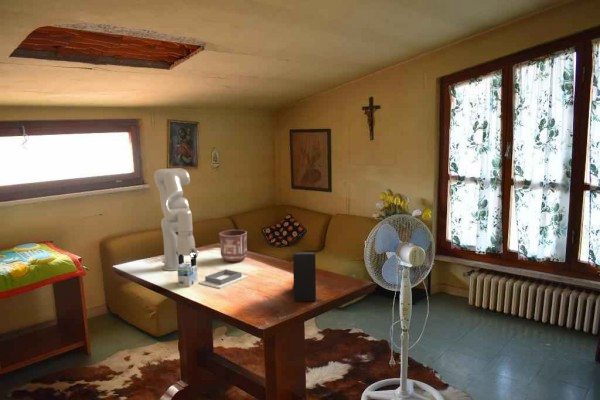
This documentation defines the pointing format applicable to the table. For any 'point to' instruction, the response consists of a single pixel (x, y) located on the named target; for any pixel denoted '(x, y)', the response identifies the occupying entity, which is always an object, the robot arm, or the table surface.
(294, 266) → the bookend
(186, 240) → the robot arm
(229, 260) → the pottery
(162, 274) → the table surface
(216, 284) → the dock board
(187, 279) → the light bulb box
